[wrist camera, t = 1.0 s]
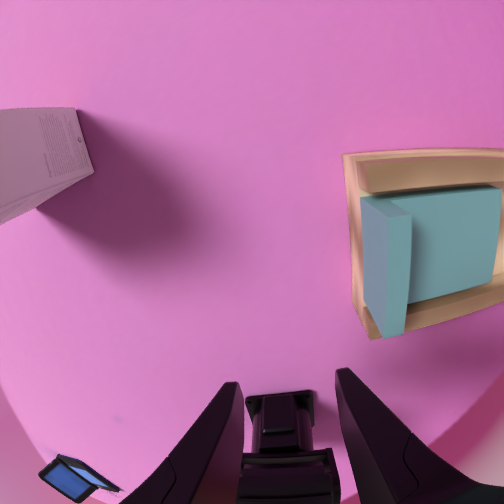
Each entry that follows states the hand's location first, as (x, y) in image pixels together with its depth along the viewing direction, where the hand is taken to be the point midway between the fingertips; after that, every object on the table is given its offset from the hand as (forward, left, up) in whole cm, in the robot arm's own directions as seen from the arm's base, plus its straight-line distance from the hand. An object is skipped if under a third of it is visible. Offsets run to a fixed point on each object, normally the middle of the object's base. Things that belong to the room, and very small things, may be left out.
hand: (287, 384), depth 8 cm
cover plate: (0, -10, -9) cm, 13 cm away
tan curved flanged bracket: (0, -13, -12) cm, 18 cm away
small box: (+10, +16, -12) cm, 22 cm away
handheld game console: (-50, +52, -12) cm, 73 cm away
